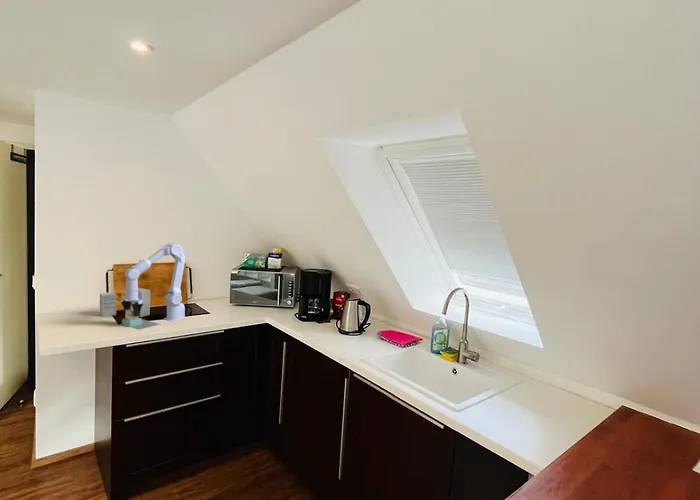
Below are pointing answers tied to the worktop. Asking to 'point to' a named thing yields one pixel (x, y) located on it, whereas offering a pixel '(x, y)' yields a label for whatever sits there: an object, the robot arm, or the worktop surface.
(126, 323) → the plinth
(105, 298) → the supplement box
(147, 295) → the skincare box
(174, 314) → the robot arm
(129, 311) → the maple block
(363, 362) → the worktop surface
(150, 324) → the mat
